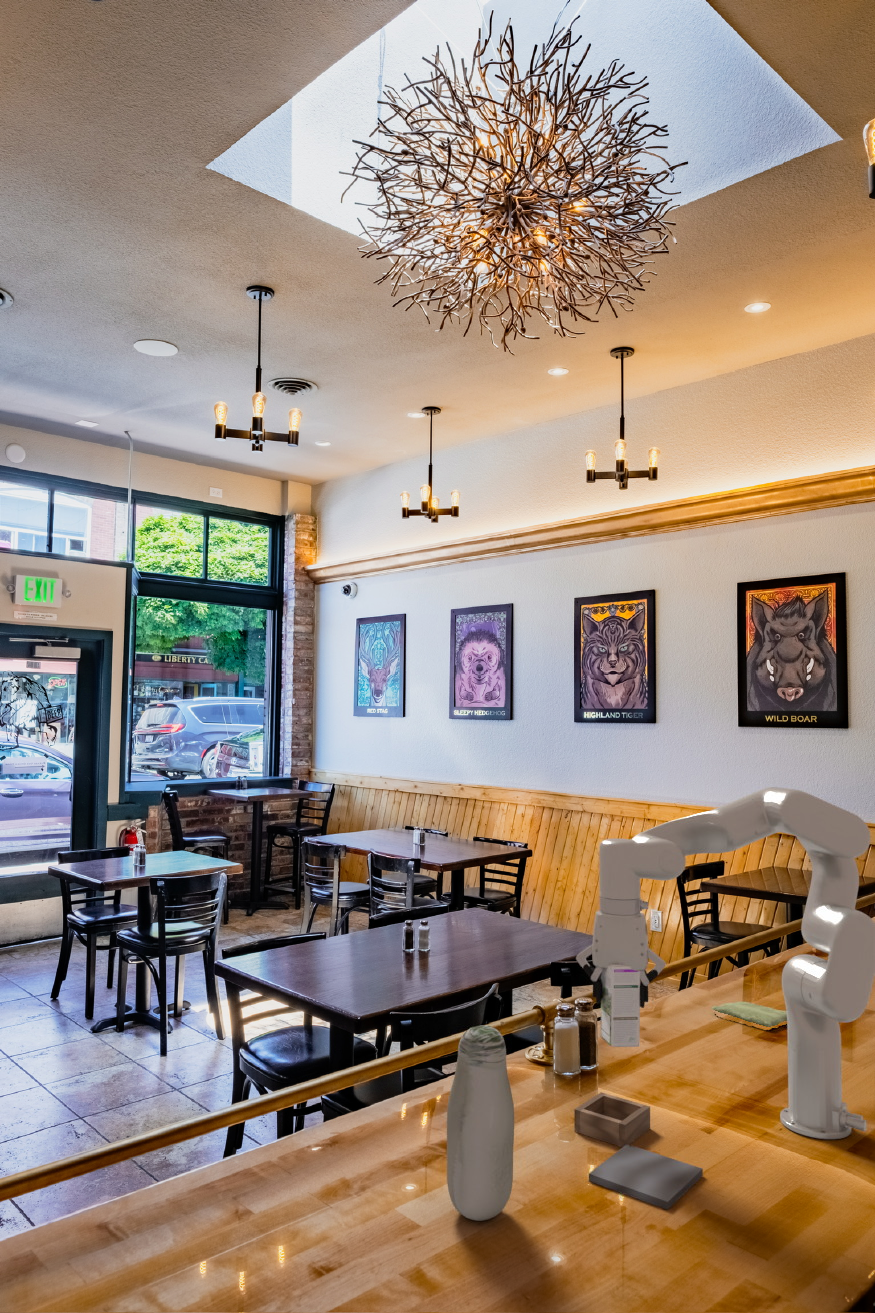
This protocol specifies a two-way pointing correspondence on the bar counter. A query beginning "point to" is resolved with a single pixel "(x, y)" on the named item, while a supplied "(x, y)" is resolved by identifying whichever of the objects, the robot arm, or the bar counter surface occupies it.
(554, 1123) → the bar counter surface
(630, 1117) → the walnut holder
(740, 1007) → the washcloth
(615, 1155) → the serving board
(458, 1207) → the white bottle
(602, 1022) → the syrup box
